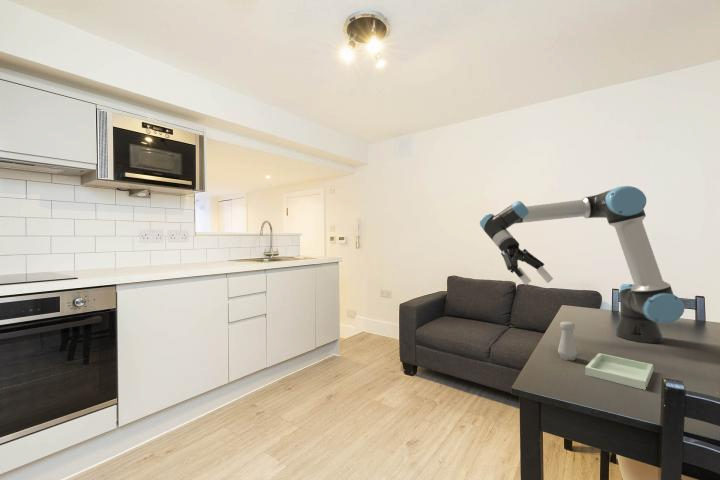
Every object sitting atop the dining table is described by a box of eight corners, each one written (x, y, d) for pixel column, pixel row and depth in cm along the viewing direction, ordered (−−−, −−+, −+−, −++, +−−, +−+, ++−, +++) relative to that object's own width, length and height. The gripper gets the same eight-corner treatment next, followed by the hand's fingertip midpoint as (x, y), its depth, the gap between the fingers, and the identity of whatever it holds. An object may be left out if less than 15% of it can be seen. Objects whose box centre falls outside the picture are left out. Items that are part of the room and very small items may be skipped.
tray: (598, 359, 110) (598, 352, 110) (653, 371, 99) (652, 364, 99) (585, 374, 98) (585, 367, 98) (645, 390, 87) (645, 381, 87)
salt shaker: (554, 355, 114) (553, 320, 114) (569, 355, 115) (568, 319, 115) (566, 361, 108) (565, 324, 108) (581, 361, 109) (581, 324, 109)
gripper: (519, 248, 142) (552, 285, 129) (480, 249, 131) (512, 289, 117) (530, 236, 137) (565, 274, 124) (491, 236, 126) (525, 277, 113)
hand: (539, 281), depth 121 cm, fingers open, 13 cm apart
